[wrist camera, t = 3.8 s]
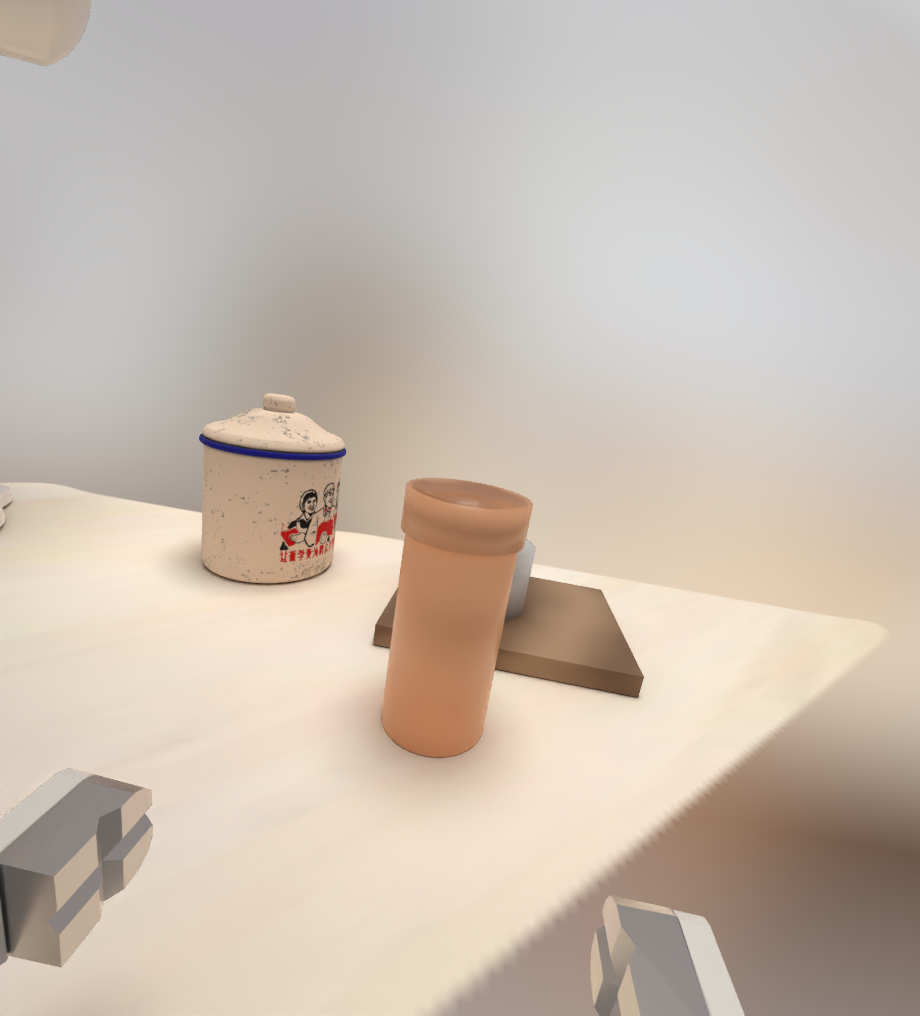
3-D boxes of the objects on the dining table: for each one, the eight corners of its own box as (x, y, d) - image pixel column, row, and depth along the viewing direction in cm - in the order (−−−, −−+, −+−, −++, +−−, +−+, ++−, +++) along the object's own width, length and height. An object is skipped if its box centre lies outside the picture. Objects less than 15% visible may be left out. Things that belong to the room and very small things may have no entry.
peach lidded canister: (361, 746, 17) (392, 494, 15) (392, 673, 22) (419, 472, 20) (484, 773, 17) (536, 520, 15) (490, 693, 22) (529, 491, 19)
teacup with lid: (299, 598, 28) (314, 406, 25) (164, 569, 29) (163, 380, 26) (365, 541, 39) (380, 405, 37) (267, 522, 40) (274, 388, 37)
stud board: (373, 644, 24) (384, 553, 23) (414, 570, 35) (423, 505, 34) (638, 697, 23) (664, 605, 22) (597, 604, 34) (613, 539, 33)
